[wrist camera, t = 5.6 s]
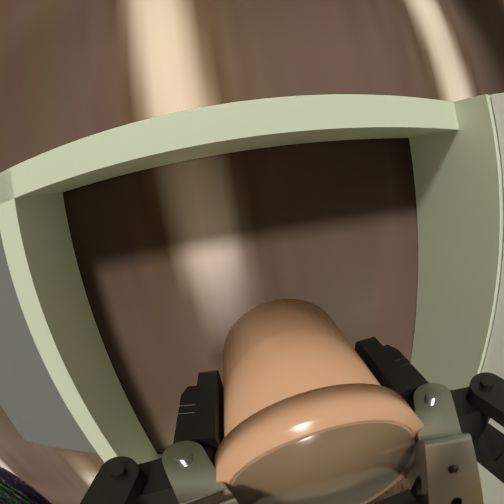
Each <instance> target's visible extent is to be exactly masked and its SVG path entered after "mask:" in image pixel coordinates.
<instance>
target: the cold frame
mask: <svg viewBox="0 0 504 504" xmlns="http://www.w3.org/2000/svg"><path fill="white" fill-rule="evenodd" d="M382 138H409V143H410V150H411V157H412V165H413V174H414V183H415V194H416V208H417V228H418V285H417V305H416V319H415V330H414V340H413V348H412V356H411V363H410V364H412V365H413V366H414V367H415V368H416V369H417V370H418V372H419V373H420V374H421V375H422V376H423V377H424V378H425V379H426V380H427V381H428V382H429V383H439V384H442V385H444V386H446V387H447V388H448V389H449V390H456V389H460V388H465V387H469V384H470V381H471V379H472V378H473V377H474V376H475V375H477V374H479V373H483V372H488V373H493V374H495V375H497V376H499V377H500V378H502V379H504V93H498V94H491V95H487V94H484V95H480V96H476V97H472V98H468V99H464V100H460V101H456V102H449V101H442V100H434V99H425V98H415V97H403V96H388V95H358V94H336V95H306V96H290V97H277V98H266V99H257V100H248V101H240V102H233V103H226V104H220V105H213V106H208V107H202V108H196V109H191V110H186V111H181V112H176V113H172V114H167V115H163V116H158V117H154V118H150V119H146V120H142V121H138V122H135V123H131V124H127V125H124V126H120V127H117V128H113V129H110V130H107V131H104V132H100V133H97V134H94V135H91V136H88V137H85V138H82V139H80V140H77V141H74V142H71V143H68V144H66V145H63V146H60V147H58V148H55V149H53V150H50V151H48V152H45V153H43V154H40V155H38V156H36V157H33V158H31V159H29V160H26V161H24V162H22V163H20V164H18V165H16V166H13V167H11V168H9V169H7V170H5V171H3V172H1V173H0V233H1V238H2V242H3V247H4V251H5V255H6V259H7V263H8V267H9V270H10V274H11V278H12V281H13V284H14V288H15V291H16V294H17V297H18V300H19V303H20V306H21V309H22V311H23V314H24V317H25V320H26V322H27V325H28V327H29V330H30V332H31V335H32V337H33V340H34V342H35V344H36V347H37V349H38V351H39V353H40V356H41V358H42V360H43V362H44V364H45V366H46V368H47V370H48V372H49V374H50V376H51V378H52V380H53V382H54V384H55V386H56V388H57V390H58V391H59V393H60V395H61V397H62V399H63V400H64V402H65V404H66V406H67V407H68V409H69V411H70V412H71V414H72V416H73V417H74V419H75V421H76V422H77V424H78V425H79V427H80V428H81V430H82V431H83V433H84V434H85V436H86V437H87V439H88V440H89V442H90V443H91V445H92V446H93V448H94V449H95V450H96V452H97V453H98V454H99V456H100V457H101V458H102V460H103V461H104V462H106V461H108V460H109V459H111V458H114V457H119V456H125V457H129V458H131V459H133V460H134V461H135V462H136V463H137V464H141V463H145V462H149V461H153V460H156V459H159V458H161V457H162V454H157V452H156V451H155V449H154V447H153V445H152V444H151V442H150V440H149V439H148V437H147V435H146V433H145V431H144V430H143V428H142V426H141V424H140V422H139V420H138V418H137V417H136V415H135V413H134V411H133V409H132V407H131V405H130V403H129V401H128V399H127V397H126V395H125V392H124V390H123V388H122V386H121V384H120V382H119V379H118V377H117V375H116V373H115V370H114V368H113V366H112V363H111V361H110V359H109V356H108V354H107V351H106V349H105V346H104V344H103V341H102V338H101V336H100V333H99V330H98V328H97V325H96V322H95V319H94V316H93V313H92V310H91V307H90V304H89V301H88V298H87V295H86V292H85V288H84V285H83V282H82V278H81V275H80V271H79V267H78V264H77V260H76V256H75V252H74V248H73V243H72V239H71V235H70V230H69V225H68V220H67V215H66V210H65V204H64V198H63V192H66V191H69V190H72V189H75V188H78V187H82V186H85V185H89V184H92V183H95V182H99V181H103V180H106V179H110V178H114V177H117V176H121V175H125V174H129V173H133V172H137V171H141V170H146V169H150V168H154V167H159V166H163V165H168V164H173V163H177V162H182V161H187V160H192V159H198V158H203V157H209V156H214V155H220V154H226V153H232V152H239V151H246V150H253V149H260V148H267V147H275V146H284V145H293V144H303V143H313V142H325V141H339V140H356V139H382ZM488 423H489V424H490V425H492V426H493V427H495V428H496V429H497V430H499V431H500V432H502V433H503V434H504V427H503V426H501V425H500V424H498V423H497V422H495V421H494V420H493V419H491V418H490V420H489V422H488ZM477 465H478V470H479V476H480V481H481V488H482V495H483V502H484V504H504V483H502V482H501V481H500V480H499V479H498V478H496V477H495V476H494V475H493V474H492V473H490V472H489V471H488V470H487V469H485V468H484V467H483V466H482V465H481V464H479V463H478V462H477Z"/></svg>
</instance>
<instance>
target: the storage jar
mask: <svg viewBox="0 0 504 504" xmlns="http://www.w3.org/2000/svg"><path fill="white" fill-rule="evenodd" d="M0 504H49V502H48V501H47V500H46V499H45V498H44V497H43V496H42V495H41V494H40V493H38V492H37V491H36V490H35V489H33V488H32V487H31V486H30V485H28V484H27V483H26V482H24V481H23V480H21V479H20V478H18V477H17V476H15V475H14V474H12V473H11V472H9V471H7V470H6V469H4V468H2V467H0Z"/></svg>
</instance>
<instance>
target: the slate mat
mask: <svg viewBox="0 0 504 504" xmlns="http://www.w3.org/2000/svg"><path fill="white" fill-rule="evenodd" d="M0 404H1V406H2V408H3V409H4V411H5V412H6V414H7V416H8V417H9V419H10V420H11V422H12V423H13V424H14V426H15V427H16V429H17V430H18V432H19V433H20V434H21V436H22V437H23V439H24V440H25V441H28V442H32V443H37V444H42V445H47V446H52V447H57V448H63V449H70V450H77V451H85V452H93V453H97V452H96V450H95V449H94V448H93V446H92V445H91V443H90V442H89V440H88V439H87V437H86V436H85V434H84V433H83V431H82V430H81V428H80V427H79V425H78V424H77V422H76V421H75V419H74V417H73V416H72V414H71V412H70V411H69V409H68V407H67V406H66V404H65V402H64V400H63V399H62V397H61V395H60V393H59V391H58V390H57V388H56V386H55V384H54V382H53V380H52V378H51V376H50V374H49V372H48V370H47V368H46V366H45V364H44V362H43V360H42V358H41V356H40V353H39V351H38V349H37V347H36V344H35V342H34V340H33V337H32V335H31V332H30V330H29V327H28V325H27V322H26V320H25V317H24V314H23V311H22V309H21V306H20V303H19V300H18V297H17V294H16V291H15V288H14V284H13V281H12V278H11V274H10V270H9V267H8V263H7V259H6V255H5V251H4V247H3V242H2V238H1V233H0Z"/></svg>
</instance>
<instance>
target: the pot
mask: <svg viewBox="0 0 504 504" xmlns="http://www.w3.org/2000/svg"><path fill="white" fill-rule="evenodd" d="M223 386H224V439H223V440H222V442H221V443H220V445H219V446H218V449H217V451H216V454H215V458H214V467H215V469H216V482H219V481H223V482H224V484H225V485H226V487H227V488H228V490H229V491H230V492H231V493H232V494H233V496H234V497H235V499H236V500H237V502H238V503H239V504H366V503H368V502H370V501H372V500H373V499H375V498H377V497H378V496H380V495H381V494H383V493H384V492H386V491H387V490H388V489H390V488H391V487H392V486H394V485H395V484H396V483H397V482H398V481H399V480H400V479H402V473H403V471H404V469H405V468H406V467H408V466H410V465H412V464H413V461H414V457H415V437H416V434H417V431H418V429H421V428H423V427H424V425H423V423H422V422H421V420H420V419H419V418H418V416H417V415H416V414H415V412H414V411H413V410H412V409H411V407H410V406H409V405H408V403H407V402H406V401H405V399H404V398H403V397H402V396H401V395H400V394H398V393H397V392H395V391H394V390H392V389H389V388H387V387H384V386H381V385H380V384H379V382H378V381H377V379H376V378H375V377H374V375H373V374H372V372H371V371H370V370H369V368H368V367H367V366H366V364H365V363H364V361H363V360H362V359H361V357H360V356H359V355H358V353H357V352H356V351H355V349H354V348H353V346H352V345H351V344H350V342H349V341H348V340H347V338H346V337H345V336H344V334H343V333H342V332H341V330H340V329H339V328H338V326H337V325H336V324H335V322H334V321H333V320H332V318H331V317H330V316H329V315H328V314H327V313H326V312H325V311H324V310H323V309H321V308H320V307H318V306H316V305H314V304H312V303H309V302H306V301H302V300H296V299H282V300H275V301H271V302H267V303H264V304H262V305H259V306H257V307H255V308H253V309H252V310H250V311H249V312H247V313H246V314H244V315H243V316H242V317H241V318H240V319H239V320H238V321H237V322H236V323H235V324H234V325H233V327H232V328H231V330H230V331H229V333H228V335H227V337H226V340H225V344H224V350H223Z"/></svg>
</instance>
